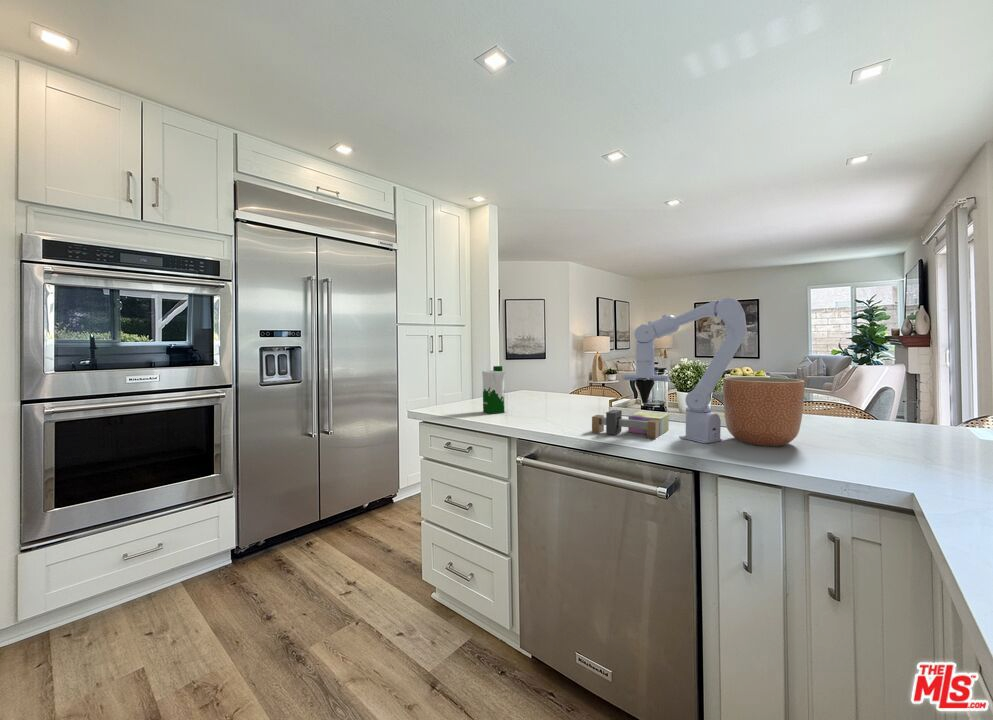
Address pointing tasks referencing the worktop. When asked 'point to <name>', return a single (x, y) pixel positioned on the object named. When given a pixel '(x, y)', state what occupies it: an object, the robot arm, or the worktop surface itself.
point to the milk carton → (493, 390)
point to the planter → (763, 409)
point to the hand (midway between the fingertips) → (644, 402)
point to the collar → (613, 422)
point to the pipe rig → (627, 425)
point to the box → (647, 417)
